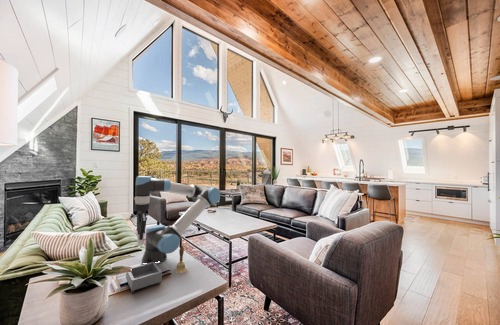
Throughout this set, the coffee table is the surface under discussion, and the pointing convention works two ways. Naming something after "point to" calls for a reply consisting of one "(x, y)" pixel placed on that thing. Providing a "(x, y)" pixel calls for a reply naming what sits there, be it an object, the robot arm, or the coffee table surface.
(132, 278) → the grey footed planter box
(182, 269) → the hand bell
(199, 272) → the coffee table surface
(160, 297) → the coffee table surface
